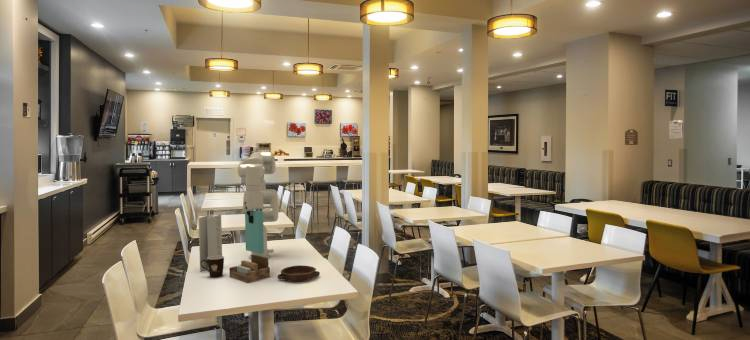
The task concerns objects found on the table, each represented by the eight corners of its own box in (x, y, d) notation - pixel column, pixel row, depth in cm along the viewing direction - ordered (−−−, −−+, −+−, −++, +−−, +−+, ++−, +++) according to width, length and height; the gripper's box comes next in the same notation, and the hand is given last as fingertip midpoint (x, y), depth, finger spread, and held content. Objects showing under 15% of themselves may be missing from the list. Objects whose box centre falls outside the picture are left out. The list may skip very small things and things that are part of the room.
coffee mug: (228, 274, 253) (227, 256, 252) (217, 278, 245) (217, 260, 244) (210, 272, 257) (209, 254, 256) (199, 276, 249) (199, 258, 248)
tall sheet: (250, 249, 255) (249, 209, 254) (263, 252, 247) (262, 211, 246) (245, 250, 253) (244, 209, 251) (258, 253, 245) (258, 212, 244)
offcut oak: (244, 274, 253) (244, 260, 252) (257, 278, 245) (257, 263, 244) (241, 275, 251) (241, 260, 251) (254, 279, 243) (254, 264, 243)
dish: (275, 276, 250) (275, 267, 249) (315, 272, 257) (315, 263, 257) (279, 285, 233) (279, 276, 233) (323, 281, 240) (322, 271, 240)
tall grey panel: (209, 272, 258) (207, 218, 256) (199, 271, 259) (198, 217, 257) (222, 265, 271) (221, 214, 270) (213, 265, 273) (212, 214, 271)
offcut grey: (240, 276, 250) (240, 265, 249) (251, 280, 243) (251, 268, 243) (237, 277, 248) (236, 266, 248) (248, 280, 241) (247, 269, 241)
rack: (252, 271, 259) (251, 253, 258) (270, 276, 248) (269, 258, 247) (229, 276, 248) (229, 258, 248) (247, 282, 237) (247, 263, 237)
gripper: (261, 186, 256) (262, 219, 258) (235, 189, 244) (236, 223, 245) (270, 187, 251) (270, 221, 253) (244, 190, 239) (244, 225, 240)
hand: (254, 222), depth 249 cm, fingers closed on tall sheet, 3 cm apart
